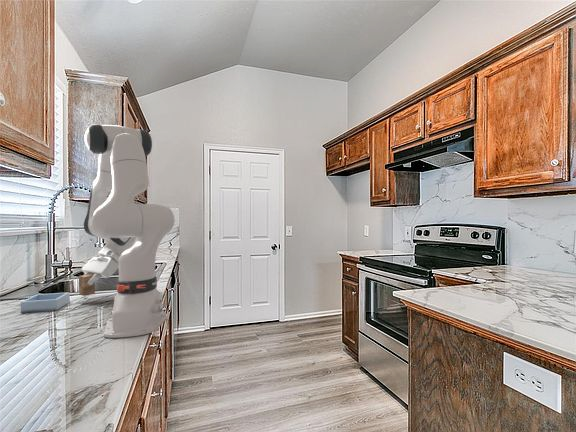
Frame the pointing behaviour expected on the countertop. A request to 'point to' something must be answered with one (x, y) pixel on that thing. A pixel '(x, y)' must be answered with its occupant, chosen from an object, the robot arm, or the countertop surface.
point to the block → (86, 285)
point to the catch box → (45, 302)
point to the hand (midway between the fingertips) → (85, 283)
